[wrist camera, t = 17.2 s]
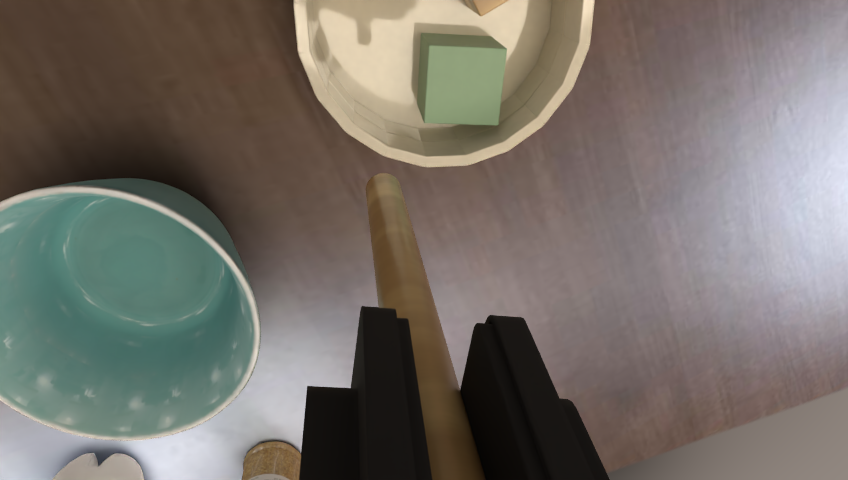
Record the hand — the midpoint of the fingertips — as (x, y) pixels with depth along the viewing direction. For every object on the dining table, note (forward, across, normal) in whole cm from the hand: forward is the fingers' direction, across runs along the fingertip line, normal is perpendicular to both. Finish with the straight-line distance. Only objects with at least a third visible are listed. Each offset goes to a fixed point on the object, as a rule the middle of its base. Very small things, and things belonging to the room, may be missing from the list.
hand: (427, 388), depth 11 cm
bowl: (+29, +12, +14) cm, 35 cm away
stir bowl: (+29, -3, -3) cm, 29 cm away
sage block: (+28, -5, 0) cm, 29 cm away
